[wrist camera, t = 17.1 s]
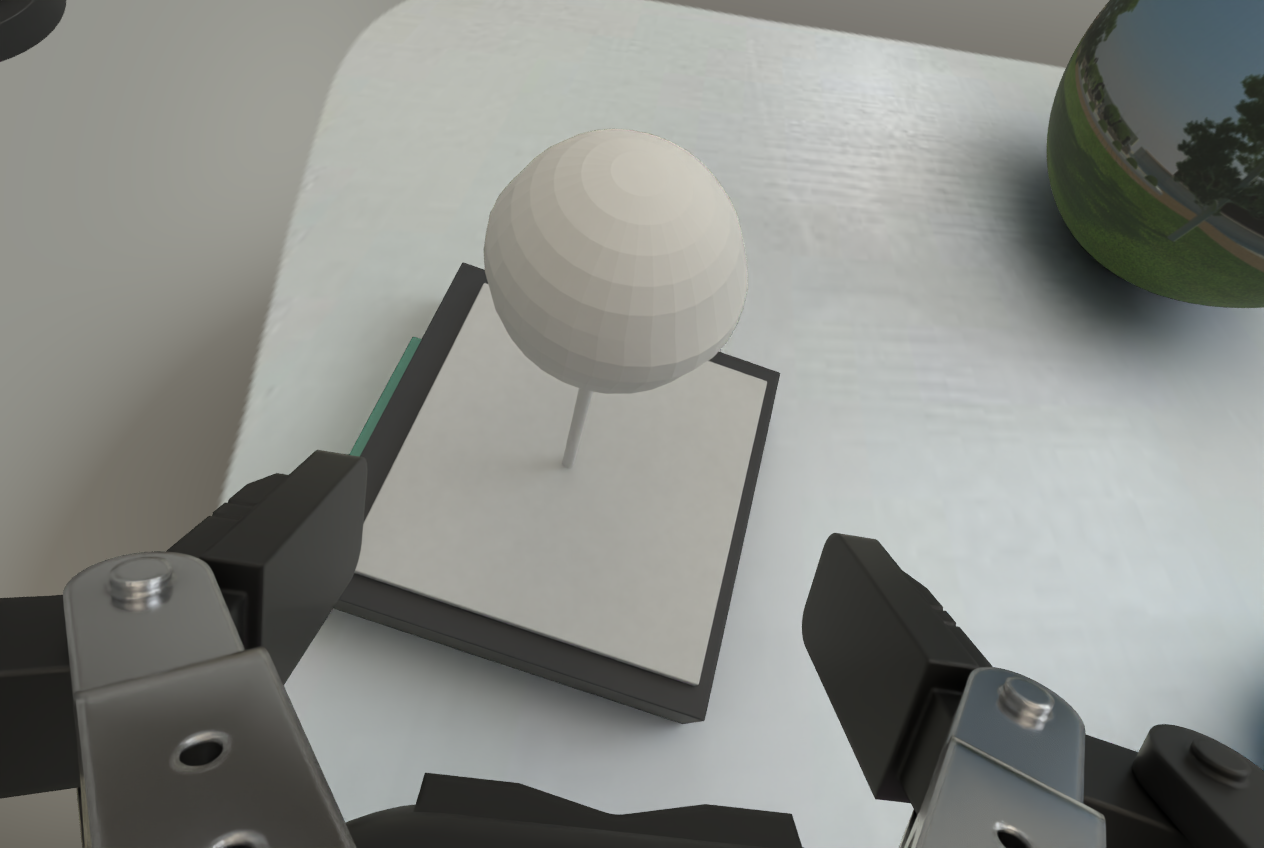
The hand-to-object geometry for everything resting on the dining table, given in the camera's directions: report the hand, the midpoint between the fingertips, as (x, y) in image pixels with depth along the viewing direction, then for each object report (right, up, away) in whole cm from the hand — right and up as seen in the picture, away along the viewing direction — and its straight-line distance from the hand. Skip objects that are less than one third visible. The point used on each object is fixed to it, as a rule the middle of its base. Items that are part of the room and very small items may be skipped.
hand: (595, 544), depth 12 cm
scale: (-2, -1, +18) cm, 18 cm away
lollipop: (-2, 0, +15) cm, 15 cm away
